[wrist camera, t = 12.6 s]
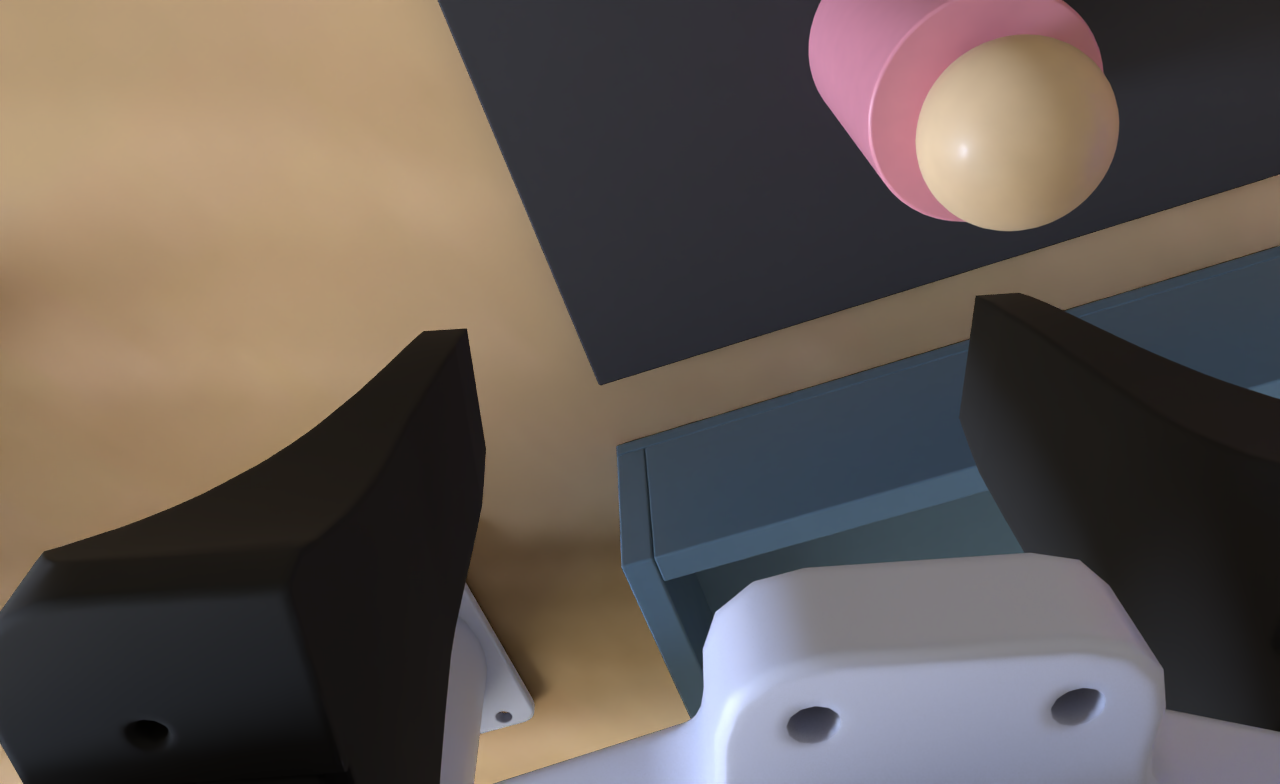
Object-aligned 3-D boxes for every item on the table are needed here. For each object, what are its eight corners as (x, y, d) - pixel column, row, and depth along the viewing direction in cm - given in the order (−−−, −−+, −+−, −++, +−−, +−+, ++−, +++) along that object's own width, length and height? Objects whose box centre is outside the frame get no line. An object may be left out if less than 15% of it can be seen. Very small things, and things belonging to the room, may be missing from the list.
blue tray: (775, 821, 36) (800, 959, 32) (615, 445, 27) (620, 567, 23) (1305, 691, 34) (1409, 823, 30) (1320, 232, 25) (1470, 325, 21)
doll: (838, 159, 23) (949, 328, 16) (783, -12, 21) (881, 94, 14) (1010, 88, 22) (1206, 232, 15) (969, -95, 20) (1173, -28, 13)
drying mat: (599, 377, 26) (599, 386, 26) (398, -105, 20) (393, -103, 20) (1309, 155, 24) (1322, 162, 23) (1323, -466, 18) (1341, -473, 17)
